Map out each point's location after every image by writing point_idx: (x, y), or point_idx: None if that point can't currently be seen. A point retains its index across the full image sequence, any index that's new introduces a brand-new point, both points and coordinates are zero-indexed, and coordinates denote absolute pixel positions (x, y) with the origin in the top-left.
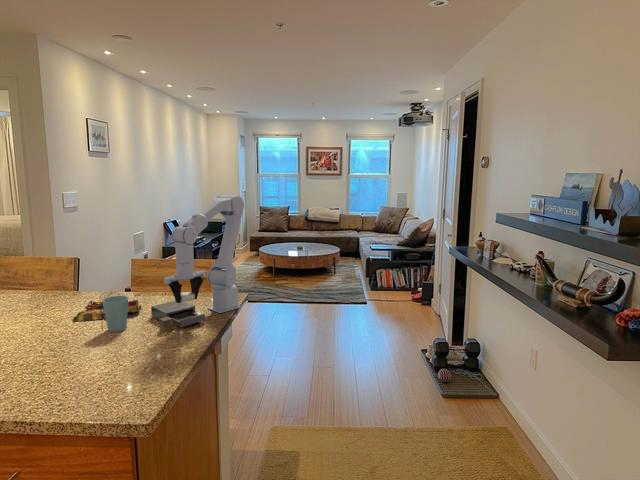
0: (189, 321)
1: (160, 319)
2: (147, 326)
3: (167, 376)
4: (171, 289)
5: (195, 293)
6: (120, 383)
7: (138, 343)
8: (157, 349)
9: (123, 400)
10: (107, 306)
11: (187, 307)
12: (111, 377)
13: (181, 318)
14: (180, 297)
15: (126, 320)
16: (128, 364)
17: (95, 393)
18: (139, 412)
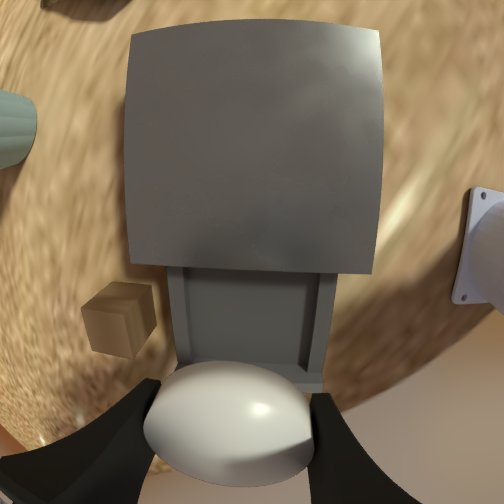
0: None
1: (83, 319)
2: (89, 183)
3: None
4: (59, 446)
5: (310, 468)
6: (30, 425)
7: (39, 326)
8: (79, 398)
9: None
10: None
11: (310, 264)
12: (15, 403)
13: (235, 278)
14: (150, 455)
15: (6, 152)
16: (30, 395)
17: (9, 414)
18: None
